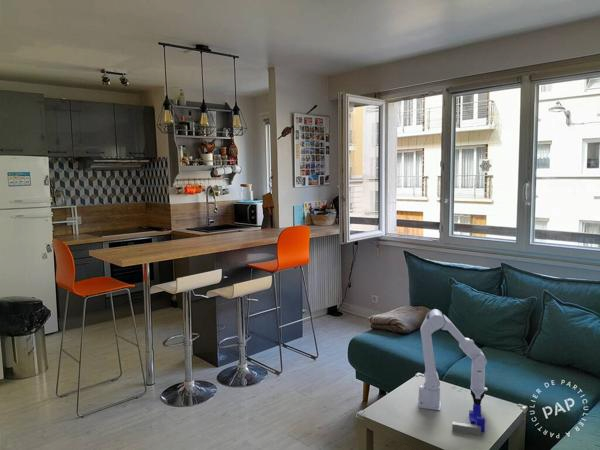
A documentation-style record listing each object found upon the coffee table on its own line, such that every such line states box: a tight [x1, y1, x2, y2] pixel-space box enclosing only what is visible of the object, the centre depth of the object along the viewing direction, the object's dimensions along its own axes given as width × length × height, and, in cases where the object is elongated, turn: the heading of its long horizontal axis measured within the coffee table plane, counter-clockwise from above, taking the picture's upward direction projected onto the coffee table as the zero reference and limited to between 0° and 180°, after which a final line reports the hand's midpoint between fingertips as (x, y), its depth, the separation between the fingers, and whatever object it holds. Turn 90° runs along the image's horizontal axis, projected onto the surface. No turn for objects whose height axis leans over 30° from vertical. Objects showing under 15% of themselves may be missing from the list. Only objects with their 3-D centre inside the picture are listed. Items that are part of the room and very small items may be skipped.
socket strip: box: [451, 421, 482, 437], centre depth 187 cm, size 11×2×3 cm, turn 70°
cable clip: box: [468, 403, 486, 434], centre depth 192 cm, size 12×4×6 cm, turn 167°
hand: (477, 406), depth 204 cm, fingers closed
